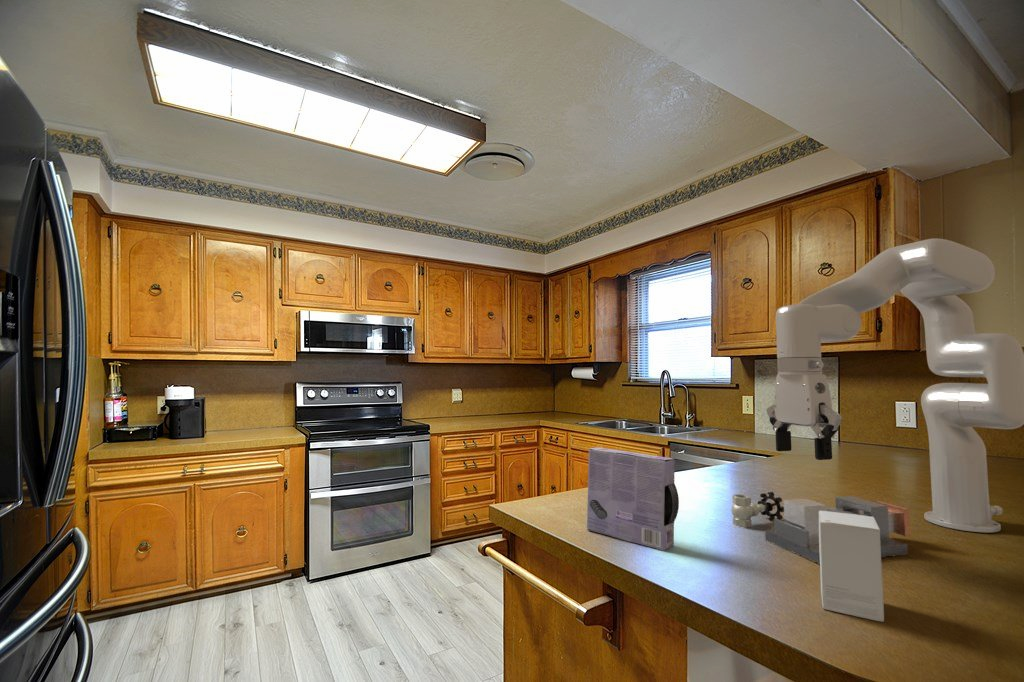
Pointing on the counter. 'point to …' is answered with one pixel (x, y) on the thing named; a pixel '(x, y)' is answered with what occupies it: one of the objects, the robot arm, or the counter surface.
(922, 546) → the counter surface
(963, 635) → the counter surface
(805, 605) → the counter surface
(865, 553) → the supplement box
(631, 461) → the cake pan box
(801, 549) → the press bed
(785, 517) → the block
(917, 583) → the counter surface
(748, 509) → the valve
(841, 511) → the ram
